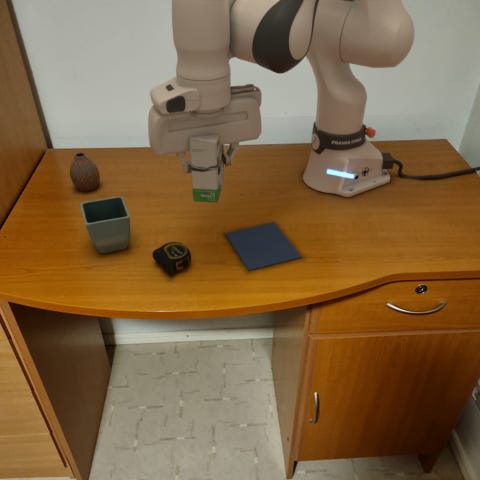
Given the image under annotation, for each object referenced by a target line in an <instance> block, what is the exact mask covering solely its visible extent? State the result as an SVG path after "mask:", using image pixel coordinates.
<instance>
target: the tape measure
mask: <svg viewBox="0 0 480 480" xmlns="http://www.w3.org/2000/svg"><path fill="white" fill-rule="evenodd" d="M152 258H153V260H154V261H155V262H156V263H157V264H158V265H160V266H161V267H162V269H163V270H164V271H165V272H166V274H167V275H169V276H172V275H173V276H174V275H175V274H176V273H177V272H180V271H183V270H185V269H187V268H188V267H189V265H190V264H191V261H192V253H191V250H190V248H189V247H188V246H187V245H186V244H184V243H182V242H179V241H178V242H177V241H171V242H167V243H165V244H163V245H161V246H160V247H158V248H156V249H155V250H153V251H152Z"/></svg>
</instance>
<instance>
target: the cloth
mask: <svg viewBox="0 0 480 480" xmlns="http://www.w3.org/2000/svg"><path fill="white" fill-rule="evenodd" d="M224 236H225V237H226V238H227V240H228V242H229V243H230V245H231V247H232V248H233V250H234V251H235V253H236V255H238V257H239V259H240V261H241V262H242V263H243V265H244V267H245V268H246V269H247V271H248V272H252V271H256V270H259V269H264V268H269V267H272V266H276V265H280V264H284V263H287V262H291V261H292V262H293V261H296V260H299V259H302V258H303V256H302V255H301V254H300V253H299V251H298V250H297V249H296V247H295V246H294V245H293V243H291V241H290V240H289V239H288V238H287V237H286V235H285V234H284V233H283V232H282V230H281V229H280V228H279V226H278V225H277V224H276V223H275V221H272V222H268V223H263V224H259V225H254V226H250V227H245V228H241V229H236V230H233V231H228V232H224Z"/></svg>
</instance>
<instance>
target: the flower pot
mask: <svg viewBox="0 0 480 480" xmlns="http://www.w3.org/2000/svg"><path fill="white" fill-rule="evenodd" d="M79 206H80V208H81V212H82V216H83V221H84V224H85V228H86V230H87V233H88V236H89V238H90V241H91V243H92V245H93V246H94V248H95V249H96V250H97V251H98V252H99V253H101V254H108V253H113V252H118V251H123V250H126V249H127V247H128V245H129V243H130V239H131V215H130V212H129V210H128V207H127V205H126V203H125V200H124V197H123V196H121V195H119V196H112V197H107V198H106V197H105V198H101V199H95V200H88V201H83V202H81V203H80V204H79Z"/></svg>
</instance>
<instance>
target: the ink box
mask: <svg viewBox="0 0 480 480" xmlns="http://www.w3.org/2000/svg"><path fill="white" fill-rule="evenodd" d="M219 140H220V139H219V134H217V135H207V136H198V137H191V138H190V140H189V146H190V151H189V158H190V159H189V160H190V161H191V173H190V174H191V187H192V188H191V190H192V200H193V202H198V203H219V200H220V197H221V193H222V190H223V186H224V183H225V165H224V163H223V159H224V158H223V154H225V151H224V149H225V148H224V147H225V145H220V141H219Z"/></svg>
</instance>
